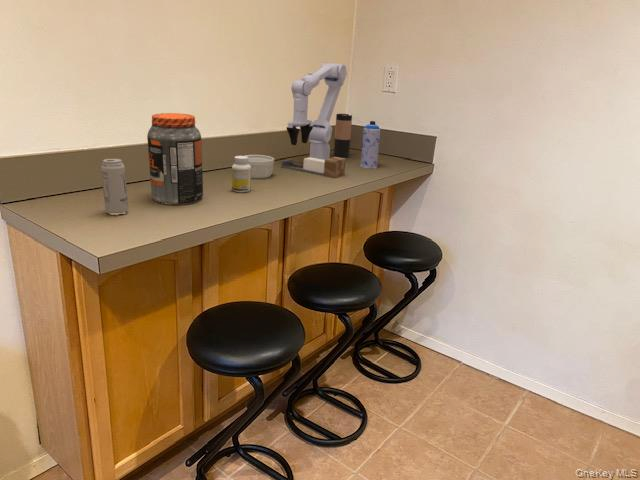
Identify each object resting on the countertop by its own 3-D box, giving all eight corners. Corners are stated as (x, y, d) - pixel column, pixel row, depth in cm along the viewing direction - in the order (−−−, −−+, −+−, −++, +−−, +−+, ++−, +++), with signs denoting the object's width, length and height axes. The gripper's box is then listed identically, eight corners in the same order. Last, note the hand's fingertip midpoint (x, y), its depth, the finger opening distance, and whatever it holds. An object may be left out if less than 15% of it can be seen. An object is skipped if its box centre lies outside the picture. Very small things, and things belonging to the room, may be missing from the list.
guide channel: (291, 164, 212) (291, 158, 211) (333, 173, 201) (334, 167, 200) (281, 167, 206) (281, 161, 205) (324, 175, 195) (324, 169, 194)
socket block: (334, 172, 201) (335, 156, 199) (344, 175, 199) (345, 158, 196) (323, 176, 195) (324, 159, 192) (334, 178, 192) (335, 161, 190)
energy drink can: (127, 215, 135) (123, 162, 130) (104, 216, 133) (98, 162, 128) (129, 209, 140) (125, 158, 135) (106, 210, 139) (101, 158, 133)
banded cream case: (309, 168, 205) (310, 156, 204) (337, 174, 198) (338, 162, 197) (303, 170, 202) (303, 158, 200) (331, 176, 195) (332, 163, 193)
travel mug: (332, 157, 233) (335, 114, 226) (334, 154, 241) (337, 113, 234) (348, 158, 232) (351, 115, 225) (349, 155, 240) (353, 114, 233)
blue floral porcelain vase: (361, 164, 222) (365, 119, 215) (378, 165, 220) (383, 121, 213) (358, 167, 215) (362, 121, 208) (375, 169, 213) (380, 122, 206)
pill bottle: (243, 187, 171) (243, 154, 167) (254, 191, 167) (255, 157, 163) (228, 189, 167) (227, 156, 163) (239, 194, 163) (239, 159, 159)
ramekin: (252, 181, 180) (252, 162, 178) (233, 174, 190) (232, 156, 187) (280, 177, 189) (280, 159, 186) (260, 170, 198) (261, 153, 195)
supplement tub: (149, 193, 157) (144, 111, 148) (199, 191, 163) (196, 112, 154) (153, 207, 143) (147, 118, 134) (207, 204, 149) (205, 118, 140)
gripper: (298, 112, 192) (296, 147, 197) (318, 110, 203) (316, 143, 208) (284, 111, 195) (283, 144, 200) (304, 109, 207) (303, 141, 212)
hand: (299, 143), depth 204 cm, fingers open, 7 cm apart
